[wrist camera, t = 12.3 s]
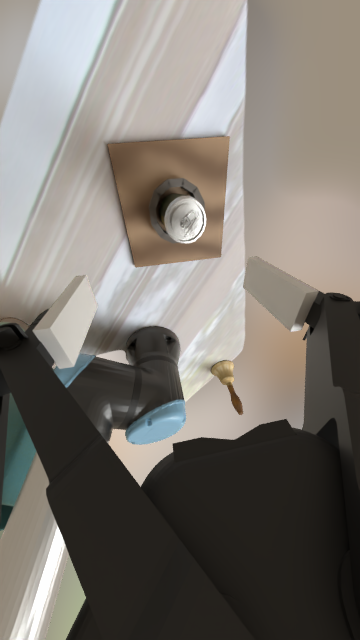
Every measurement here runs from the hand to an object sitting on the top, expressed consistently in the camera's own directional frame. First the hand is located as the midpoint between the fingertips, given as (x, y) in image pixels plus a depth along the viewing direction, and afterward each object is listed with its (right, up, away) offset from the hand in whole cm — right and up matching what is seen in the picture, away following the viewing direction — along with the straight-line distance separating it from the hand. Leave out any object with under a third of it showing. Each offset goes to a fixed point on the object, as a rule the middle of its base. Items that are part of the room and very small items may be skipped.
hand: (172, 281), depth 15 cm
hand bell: (+16, -20, +48) cm, 55 cm away
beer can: (0, +16, +17) cm, 23 cm away
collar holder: (0, +17, +17) cm, 24 cm away
